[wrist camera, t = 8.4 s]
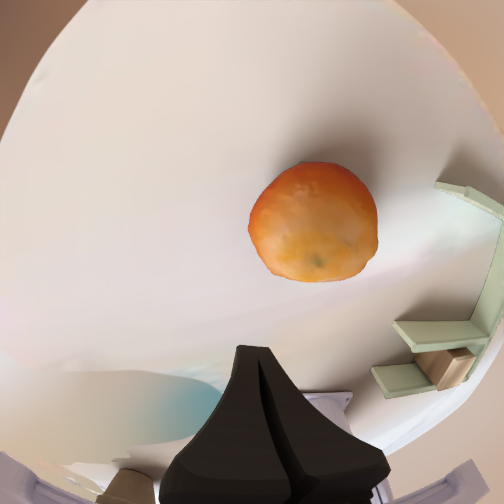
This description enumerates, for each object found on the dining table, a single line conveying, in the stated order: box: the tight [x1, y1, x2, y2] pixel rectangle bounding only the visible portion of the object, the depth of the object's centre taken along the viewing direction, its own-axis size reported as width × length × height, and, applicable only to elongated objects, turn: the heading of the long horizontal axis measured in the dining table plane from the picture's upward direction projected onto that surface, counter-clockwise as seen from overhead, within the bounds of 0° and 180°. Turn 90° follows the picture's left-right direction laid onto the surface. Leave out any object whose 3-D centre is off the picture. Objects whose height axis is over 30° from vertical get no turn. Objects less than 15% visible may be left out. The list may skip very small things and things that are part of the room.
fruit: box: [248, 162, 378, 283], centre depth 17 cm, size 8×8×8 cm
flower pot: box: [95, 469, 156, 504], centre depth 28 cm, size 12×11×10 cm
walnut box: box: [414, 347, 476, 391], centre depth 23 cm, size 4×4×6 cm
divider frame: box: [370, 181, 504, 399], centre depth 21 cm, size 21×15×4 cm
